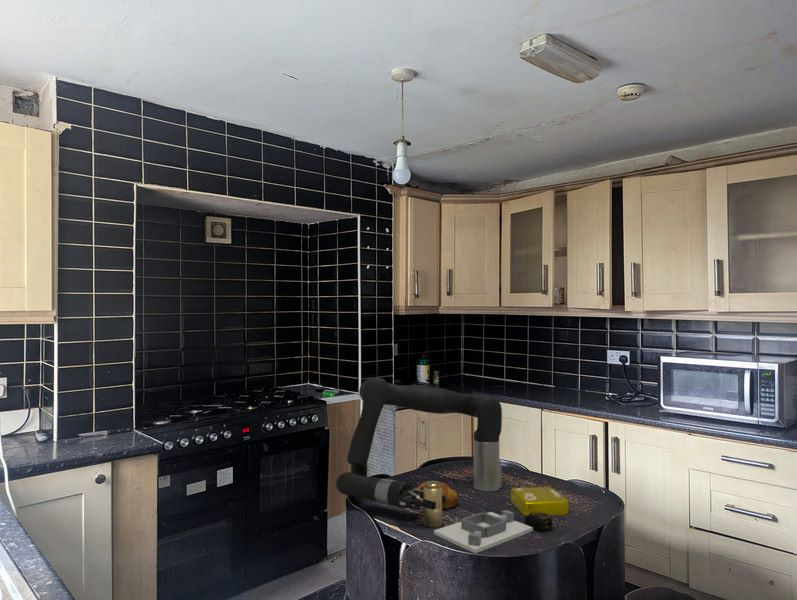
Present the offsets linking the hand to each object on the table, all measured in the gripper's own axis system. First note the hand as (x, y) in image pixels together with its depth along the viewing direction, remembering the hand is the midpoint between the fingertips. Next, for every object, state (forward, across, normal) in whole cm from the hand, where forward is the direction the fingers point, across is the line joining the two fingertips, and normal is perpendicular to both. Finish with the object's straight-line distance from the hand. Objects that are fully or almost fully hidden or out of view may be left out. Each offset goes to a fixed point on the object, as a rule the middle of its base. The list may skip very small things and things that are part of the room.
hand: (440, 502), depth 159 cm
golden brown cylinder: (-3, 0, +7) cm, 7 cm away
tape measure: (+25, +14, +7) cm, 30 cm away
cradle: (+13, +2, +7) cm, 15 cm away
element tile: (+20, +31, +7) cm, 38 cm away
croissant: (-11, +16, +7) cm, 21 cm away
